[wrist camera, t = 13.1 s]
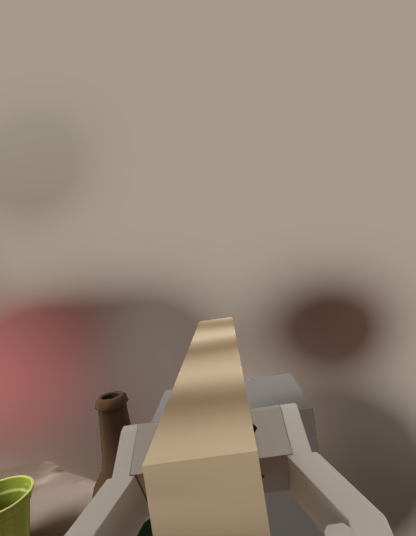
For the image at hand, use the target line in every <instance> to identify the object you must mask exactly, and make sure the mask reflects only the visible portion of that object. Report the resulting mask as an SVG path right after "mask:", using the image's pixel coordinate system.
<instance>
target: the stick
mask: <svg viewBox="0 0 416 536" xmlns="http://www.w3.org/2000/svg"><path fill="white" fill-rule="evenodd" d="M142 469H143V475H144V482H145V488H146V495H147V501H148V508H149V514H150V521H151V527H152V534H153V536H271V535H270V529H269V522H268V516H267V509H266V503H265V496H264V490H263V483H262V477H261V470H260V464H259V457H258V451H257V445H256V440H255V435H254V430H253V424H252V419H251V414H250V409H249V403H248V398H247V393H246V388H245V382H244V377H243V372H242V367H241V362H240V356H239V351H238V345H237V340H236V335H235V330H234V325H233V319H232V317H228V318H222V319H215V320H208V321H201V322H199V324H198V327H197V330H196V332H195V334H194V337H193V340H192V342H191V344H190V347H189V350H188V352H187V355H186V357H185V360H184V362H183V365H182V367H181V370H180V372H179V375H178V377H177V380H176V382H175V385H174V387H173V390H172V392H171V395H170V397H169V400H168V402H167V405H166V407H165V410H164V412H163V415H162V417H161V420H160V422H159V425H158V427H157V430H156V432H155V435H154V437H153V440H152V442H151V445H150V447H149V450H148V452H147V455H146V457H145V460H144V462H143V465H142Z"/></svg>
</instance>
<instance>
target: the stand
mask: <svg viewBox="0 0 416 536" xmlns="http://www.w3.org/2000/svg"><path fill="white" fill-rule="evenodd" d="M244 382H245V388H246V393H247V398H248V403H249V409H253V408H260V407H266V406H273V405H283V404H290V403H295V404H296V405H297V407H298V410H299V413H300V416H301V419H302V423H303V426H304V429H305V432H306V435H307V439H308V442H309V445H310V448H311V451H312V452H317V453H318V454H320V453H319V447H318V440H317V433H316V427H315V420H314V413H313V408H312V407H311V405H310V403H309V402H308V400H307V398H306V397H305V395H304V394H303V392H302V390H301V389H300V387H299V386H298V384H297V382H296V381H295V379H294V378H293V376H292V375H291V373H289V374H281V375H274V376H266V377H259V378H252V379H245V380H244ZM172 390H173V389H172ZM172 390H166V391H165V393H164V395H163V398H162V400H161V402H160V404H159V407H158V409H157V411H156V413H155V416H154V418H153V420H152V422H151V423H153V422H160V420H161V417H162V415H163V412H164V410H165V407H166V405H167V402H168V400H169V397H170V395H171V392H172ZM264 496H265V503H266V509H267V516H268V522H269V529H270V535H271V536H324V534H323V533H322V532H321V531H320V529H319V528H318V527H317V525H316V524H315V523H314V522H313V520H312V519H311V518H310V517H309V515H308V514H307V513H306V512H305V510H304V509H303V508H302V507H301V505H300V504H299V503H298V501H297V500H296V499H295V498H294V496H293V495H292V494H291V493H290V491H280V492H270V493H264Z"/></svg>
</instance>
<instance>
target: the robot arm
mask: <svg viewBox="0 0 416 536" xmlns="http://www.w3.org/2000/svg"><path fill="white" fill-rule="evenodd" d="M250 414H251V419H252V424H253V430H254V435H255V440H256V445H257V451H258V457H259V464H260V470H261V477H262V483H263V490H264V493H270V492H280V491H290V493H291V494H292V495H293V496H294V498H295V499H296V500H297V501H298V503H299V504H300V505H301V507H302V508H303V509H304V510H305V512H306V513H307V514H308V515H309V517H310V518H311V519H312V520H313V522H314V523H315V524H316V525H317V527H318V528H319V529H320V531H321V532H322V533H323V534H324V536H394V535H393V533H392V531H391V528H390V526H389V524H388V522H387V519H386V517H385V516H384V515H383V514H382V513H381V512H380V511H379V510H378V509H377V508H376V507H375V506H374V505H373V504H372V503H370V502H369V501H368V500H367V499H366V498H365V497H364V496H363V495H362V494H361V493H360V492H359V491H358V490H357V489H356V488H355V487H353V486H352V485H351V484H350V483H349V482H348V481H347V480H346V479H345V478H344V477H343V476H342V475H341V474H340V473H339V472H338V471H337V470H335V469H334V468H333V467H332V466H331V465H330V464H329V463H328V462H327V461H326V460H325V459H324V458H323V457H322V456H321V455H320V454H318V453H317V452H312V451H311V448H310V445H309V442H308V439H307V435H306V432H305V429H304V426H303V423H302V419H301V416H300V413H299V410H298V407H297V405H296V404H295V403H290V404H283V405H273V406H266V407H260V408H253V409H250ZM158 425H159V422H153V423H144V424H135V425H128V426H124V427H123V429H122V431H121V435H120V440H119V445H118V450H117V455H116V460H115V465H114V470H113V475H112V478H110V479H107V480H106V481H105V483H104V484H103V485H102V487H101V488H100V489H99V491H98V492H97V493H96V495H95V496H94V497H93V499H92V500H91V501H90V502H89V504H88V505H87V506H86V508H85V509H84V510H83V512H82V513H81V514H80V516H79V517H78V518H77V520H76V521H75V522H74V524H73V525H72V526H71V527H70V529H69V530H68V531H67V533H66V534H65V535H64V536H137V535H138V533H139V531H140V529H141V527H142V525H143V524H144V522H145V520H146V518H147V516H148V514H149V508H148V501H147V495H146V488H145V482H144V475H143V469H142V465H143V462H144V460H145V457H146V455H147V452H148V450H149V447H150V445H151V442H152V440H153V437H154V435H155V432H156V430H157V427H158Z"/></svg>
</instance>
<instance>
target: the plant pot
mask: <svg viewBox="0 0 416 536" xmlns="http://www.w3.org/2000/svg"><path fill="white" fill-rule="evenodd" d="M33 487H34V480H33V479H32V478H31V477H29V476H26V475H19V476H13V477H8V478H5V479H2V480H0V536H30V498H31V492H32V489H33Z"/></svg>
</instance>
